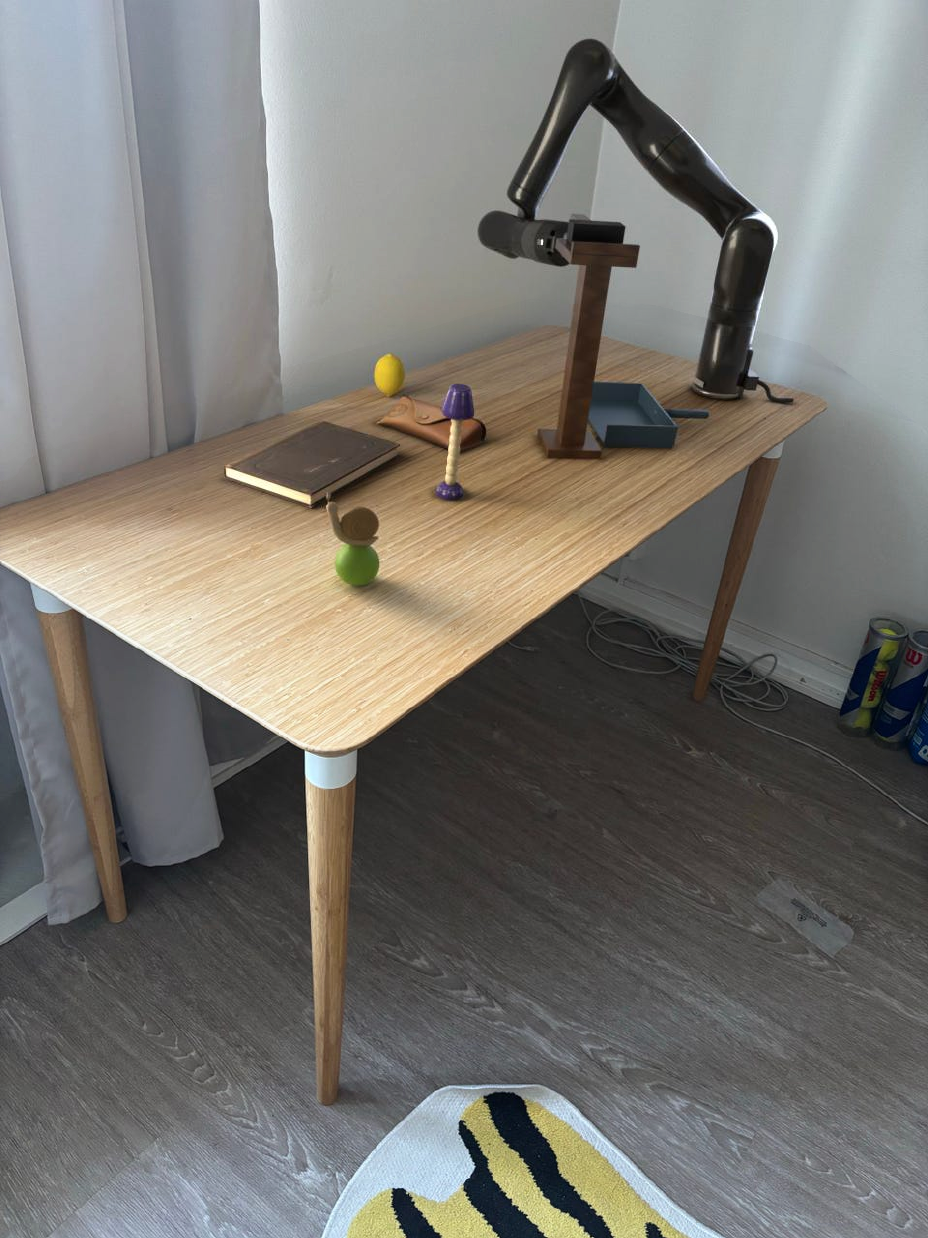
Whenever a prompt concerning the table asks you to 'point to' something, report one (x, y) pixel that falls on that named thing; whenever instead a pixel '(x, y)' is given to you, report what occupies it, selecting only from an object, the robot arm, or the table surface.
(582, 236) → the t-shaped mallet
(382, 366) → the lemon
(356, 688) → the table surface
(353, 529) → the snail figurine
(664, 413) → the scoop
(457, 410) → the toy lamp
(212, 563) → the table surface
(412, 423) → the sunglasses case
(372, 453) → the hardcover book
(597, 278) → the stand
